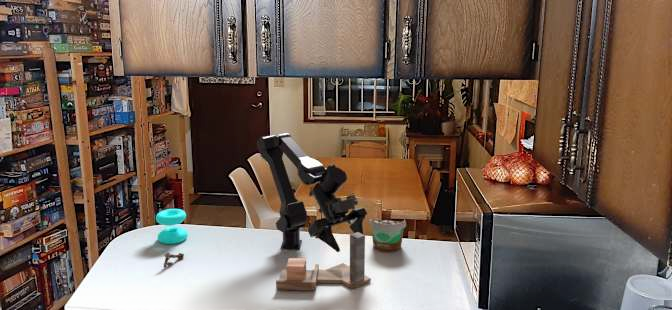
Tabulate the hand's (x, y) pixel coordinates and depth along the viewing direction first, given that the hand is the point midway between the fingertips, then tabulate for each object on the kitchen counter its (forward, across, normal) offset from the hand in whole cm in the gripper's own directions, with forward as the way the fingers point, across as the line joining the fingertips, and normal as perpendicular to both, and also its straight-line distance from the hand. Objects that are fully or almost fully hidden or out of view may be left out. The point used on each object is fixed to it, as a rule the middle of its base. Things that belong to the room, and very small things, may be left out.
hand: (351, 247), depth 145 cm
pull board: (+3, -9, +11) cm, 15 cm away
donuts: (-36, -29, +51) cm, 69 cm away
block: (0, -13, +13) cm, 18 cm away
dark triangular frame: (-23, -36, +38) cm, 57 cm away
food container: (+2, +22, +13) cm, 26 cm away
